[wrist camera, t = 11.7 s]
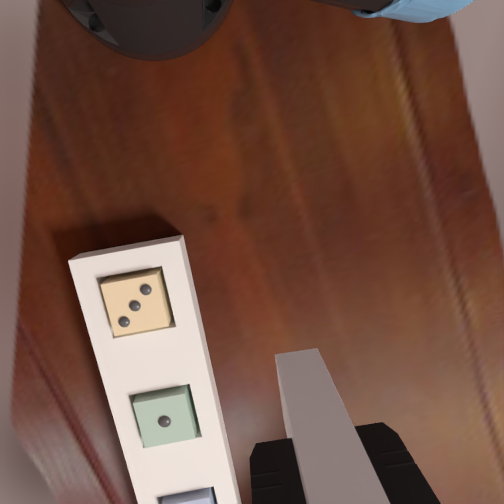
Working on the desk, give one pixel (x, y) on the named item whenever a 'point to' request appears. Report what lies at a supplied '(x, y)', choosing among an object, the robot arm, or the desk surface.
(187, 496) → the tile two
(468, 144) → the desk surface
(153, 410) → the tile one
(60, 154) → the desk surface
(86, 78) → the desk surface
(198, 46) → the robot arm
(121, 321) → the tile three
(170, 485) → the tile panel
